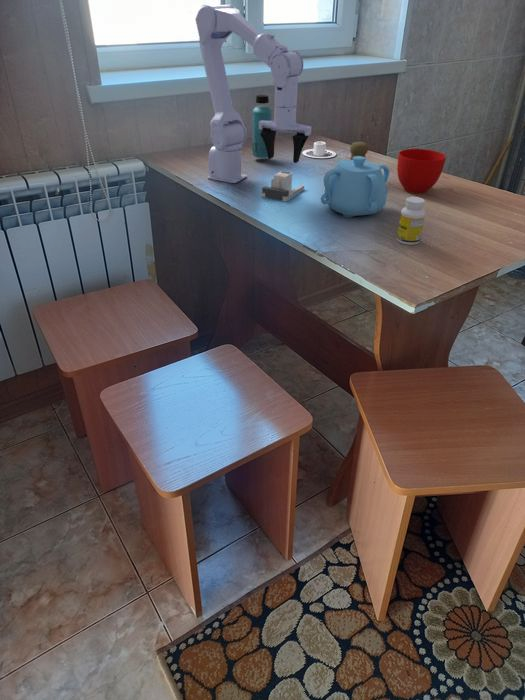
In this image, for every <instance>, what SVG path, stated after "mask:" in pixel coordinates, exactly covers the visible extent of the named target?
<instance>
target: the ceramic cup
mask: <svg viewBox="0 0 525 700" xmlns="http://www.w3.org/2000/svg"><path fill="white" fill-rule="evenodd" d="M446 160H447V156H446V154H444V153H443V152H440V151H436V150H434V149H433V150H430V149H426V148H424V149H423V148H407V149H403V150H400V151H399V152H398V155H397V168H396V169H397V171H396V172H397V177H398V181H399V183H400V185H401V187H402V188H403V189H404V191H405V192H407V193H411V194H417V195H418V194H419V193H420V194H425V193H427V192H428V191H429V190H430V189H433V187H434V186H435V185H436V183H437V182H438V181H439V179H440V177H441V175H442V172H443V169H444V166H445V164H446Z"/></svg>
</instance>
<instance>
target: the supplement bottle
mask: <svg viewBox="0 0 525 700" xmlns="http://www.w3.org/2000/svg"><path fill="white" fill-rule="evenodd" d="M424 206H425V199H424V198H421V197H418V196H409V197H407V198H406V200H405V206H403V208H402V209H401V211H400V215H399V222H398V228H397V234H396V241H397V242H399V243H401V244H403V245H407V246H414V245H418V244H419V243H420V242H421V238H422V232H423V228H424V223H425V218H426V210H425V209H424Z"/></svg>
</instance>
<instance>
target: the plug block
mask: <svg viewBox="0 0 525 700" xmlns="http://www.w3.org/2000/svg"><path fill="white" fill-rule="evenodd" d="M273 179H274V188H277V180H280V186H279V189H282V186H283V181H286V184H285V190H288V191H289V192H290V191H292V187H293V186H292V185H293V184H292V183H293V182H292V181H293V173H292V172H290V171H286V170H281V171H279V172H277V173H275V174H274V175H273Z"/></svg>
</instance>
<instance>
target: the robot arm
mask: <svg viewBox="0 0 525 700" xmlns="http://www.w3.org/2000/svg"><path fill="white" fill-rule="evenodd" d="M195 24H196V28H197V29H196V30H197V33H198V37H199V40H198V41H199V42H198V43H199V48H200V53H201V57H202V62H203V66H204V67H203V68H204V70H205V71H204V72H205V76H206V80H207V84H208V88H209V94H210V97H211V102H212V107H213V111H214V116H213V117H212V119H211V121H210V122H209V126H210V141H211V143H212V145H213V146H211V148H209V149H210V150H209V151H208V176H207V179H209V180H214V181H220V182H225V183H232V184H236V183H238V182H239V181H241V180H244V179H245V178H247V177H248V175H247V174H242V147H244V145H243V144H244V143H246V140H247V135H248V134H247V133H248V132H247V128H246V127H245V124H244V122H243V119H242V116H241V115H240V114H239V113H238V112H237V111H236V110H234V105H233V99H232V97H231V96H232V95H231V91H230V86H229V81H228V78H227V72H226V66H225V62H224V57H223V53H222V46H223V44H224V43H225V42H226V41H227V40H228V38H229V37H230V36H231V35H232V34H235V35H236V36H237V37H239V38H241V40H243V41H245V42H246V43H247V44H249V45H250V46H252V51H253V55H255V56H256V57H257V58H258V59H260V61H261V62H263V63H264V64H265V65H266V66H268V68H270V72H271V75H272V76H273V84H274V110H273V111H274V112H273V113H274V117H273V120H271V121H265V120H261V121H259V129H262V132H260V135H261V137H262V139H263V141H264V143H265V146H266V150H267V154H268V158H267V159H269V160H272V159H273V158H275V157H274V156H275V140H276V135H277V132H282V133H289V134H295V135H293V136H292V141H293V157H292V158H293V161H292V163H295V164H297V163H299V161H300V158H301V155H302V152H303V148H304V146H305V144H306V142H307V140H308V138H309V136H311V135H312V126H311V125H309V126H308V125H306V124H305V125H304V124H300V123H298V122H297V105H298V104H297V103H298V102H297V101H298V90H299V89H298V86H299V76H300V75H301V74H302V72H303V70H304V60H303V56H301V54H300V53H299V52H298V51H297V50H291V51H290V50H288V46H287V45H285V44H284V45H283V44H282V43H281V42H279V41H278V40H277V39H276V38H275V35H274V33H272V32H269V33H268V32H264V33H263V32H262V33H260V31H259V30H258V29H256V28H255V27H254V26H253V25H252V24H251V23H250V22H249V21H248V20H247V19H246V18H245V17H244V16H243V15H242V14H241V11H240V9H238V8H236V7H235V6H234V5H232V4H231V3H227V4H226V3H225V4H207V3H206V4H202V5H201V6H200V7H199V9H198V11H197V14H196V16H195ZM225 123H226V124H225Z"/></svg>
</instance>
